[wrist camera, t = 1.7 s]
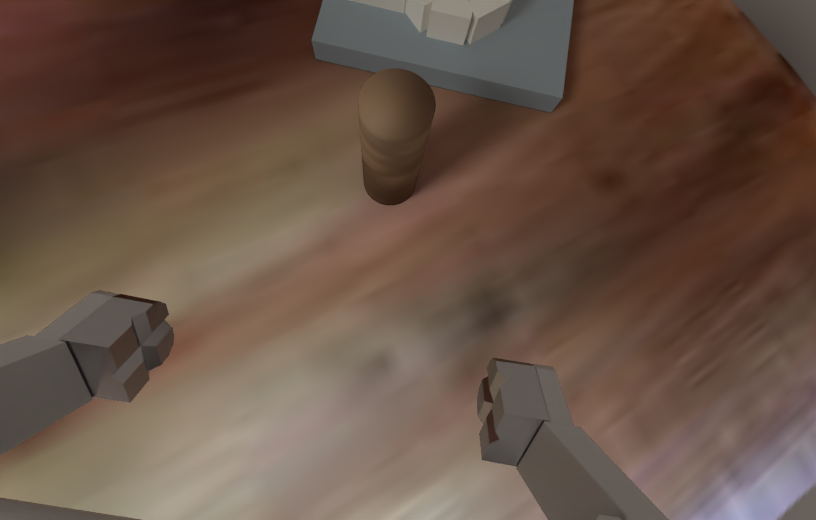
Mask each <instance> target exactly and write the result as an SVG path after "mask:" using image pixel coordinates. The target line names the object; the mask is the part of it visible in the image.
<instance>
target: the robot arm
mask: <svg viewBox="0 0 816 520" xmlns="http://www.w3.org/2000/svg"><path fill="white" fill-rule="evenodd" d="M168 315H169V313H168V310H167V306H166V304H165V303H162V302H159V301H154V300H149V299H144V298H138V297H133V296H128V295H123V294H116V293H111V292H106V291H100V290H99V291H96V292H92V293H90V294H89V295H88V296H86V297H85V298H84V299H82V300H81V301H80V302H78V303H77V304H76V305H75V306H73V307H72V308H71V309H69V310H68V311H67V312H65V313H64V314H63V315H62V316H60V317H59V318H58V319H56V320H55V321H54V322H52V323H51V324H50V325H49V326H47V327H46V328H45V329H43V330H42V331H41V332H39V333H38V334H37V335H36V336H24V337H21V338H19V339H16V340H13V341H10V342H7V343H4V344H2V345H0V455H2V454H3V453H5V452H6V451H8V450H10V449H11V448H13V447H15V446H16V445H18V444H20V443H21V442H23V441H25V440H26V439H28V438H30V437H31V436H33V435H35V434H36V433H38V432H40V431H41V430H43V429H45V428H46V427H48V426H50V425H51V424H53V423H55V422H56V421H58V420H60V419H61V418H63V417H65V416H66V415H68V414H70V413H71V412H73V411H75V410H76V409H78V408H80V407H81V406H83V405H85V404H86V403H88V402H90V401H91V400H92V398H99V399H107V400H114V401H122V402H129V403H130V402H131V401H132V400H133V399H134V398H135V396H136V395H137V394H138V393H139V391H140V390H141V389H142V388H143V387H144V385H145V384H146V383H147V382H148V381H149V371H150V370H152V369H154V368H156V367H158V366H160V365H162V363H163V362H164V361H165V359H166V358H167V357H168V356H169V353H170V351H171V348H172V346H173V342H174V333H173V328H172V327H171V326H170V325H169V324H168V323H167V322H166V321H165V318H166V317H167V316H168ZM487 373H488V376H487V377H486V378H484V379H482V381H481V384H480V387H479V391H478V397H477V414H478V418H479V419H480V421H481V422H482V423H483V426H482V428H481V431H480V433H479V436H480V446H481V456H482V460H485V461H490V462H495V463H501V464H506V465H511V466H516V467H517V468H516V469H517V470H518V472H519V473H520V475H521V477H522V478H523V480H524V481H525V483H526V485H527V486H528V488H529V490H530V491H531V493H532V494H533V496H534V498H535V499H536V501H537V502H538V504H539V506H540V507H541V509H542V511H543V512H544V514H545V515H546V517H547V519H548V520H668V518H667V517H666V516H665V515H664V514H663V513H662V512H661V511H660V510H659V509H658V508H657V507H656V506H655V505H654V504H653V503H652V502H651V501H650V500H649V499H648V498H647V496H646V495H645V494H644V493H643V492H642V491H641V490H640V489H639V488H638V487H637V486H636V485H635V484H634V483H633V482H632V481H631V480H630V479H629V478H628V477H627V476H626V474H625V473H624V472H623V471H622V470H621V469H620V468H619V467H618V466H617V465H616V464H615V463H614V462H613V461H612V460H611V459H610V458H609V457H608V456H607V455H606V454H605V452H604V451H603V450H602V449H601V448H600V447H599V446H598V445H597V444H596V443H595V442H594V441H593V440H592V439H591V438H590V437H589V436H588V435H587V434H586V433H585V432H584V430H583V429H582V428H581V427H577V426H574V424H573V421H572V418H571V415H570V412H569V409H568V406H567V403H566V400H565V397H564V394H563V391H562V388H561V386H560V383H559V380H558V377H557V374H556V371H555V370H554V368H553V367H549V366H543V365H536V364H530V363H524V362H517V361H511V360H505V359H498V358H492V359H491V360H490V361H489V364H488V366H487ZM0 520H140V519H134V518H128V517H121V516H115V515H108V514H102V513H96V512H89V511H83V510H76V509H70V508H63V507H57V506H51V505H44V504H38V503H31V502H25V501H19V500H12V499H6V498H0Z"/></svg>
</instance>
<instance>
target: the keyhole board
mask: <svg viewBox="0 0 816 520" xmlns="http://www.w3.org/2000/svg"><path fill="white" fill-rule="evenodd" d="M573 5H574V0H323V2H322V5H321V9H320V12H319V16H318V19H317V23H316V26H315V30H314V33H313V37H312V40H311V41H312V45H313V50H314V55H315V59H317V60H322V61H326V62H330V63H335V64H339V65H344V66H348V67H352V68H357V69H361V70H366V71H370V72H374V73H377V72H379V71H381V70H385V69H390V68H400V69H405V70H409V71H411V72H414V73H415V74H417V75H419V76H420V77H422V78H423V79H424V80H425V81H426V82H427V83H428V85H431V86H436V87H440V88H444V89H449V90H453V91H458V92H462V93H466V94H471V95H475V96H480V97H484V98H488V99H493V100H497V101H501V102H506V103H510V104H515V105H519V106H523V107H528V108H532V109H537V110H541V111H545V112H550V113H551V112H552V111H553V110H554V108H555V107H556V106H557V105H558V103H559V102H560V101H561V100H562V98H563V91H564V82H565V73H566V65H567V56H568V48H569V39H570V30H571V22H572V13H573Z"/></svg>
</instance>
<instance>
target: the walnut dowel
mask: <svg viewBox="0 0 816 520" xmlns="http://www.w3.org/2000/svg"><path fill="white" fill-rule="evenodd" d="M435 107H436V106H435V97H434V94H433V91H432V89H431V88H430V86H429V85H428V83H427V82H426V81H425V80H424V79H423V78H422V77H420V76H419V75H417V74H415V73H414V72H411V71H409V70H405V69H400V68H390V69H385V70H381V71H379V72H377V73H375V74H373V75H372V76H370V77H369V78H368V79H367V80H366V81H365V82H364V84H363V85H362V87H361V89H360V92H359V97H358V108H359V122H360V136H361V149H362V163H363V177H364V186H365V189H366V191H367V193H368V194H369V196H370V197H371V198H372V199H373V200H375V201H376V202H378V203H381V204H384V205H397V204H400V203H402V202H404V201H405V200H407V199H408V198H409V197H410V196H411V194H412V193H413V191H414V188H415V184H416V180H417V177H418V173H419V169H420V165H421V162H422V158H423V154H424V150H425V146H426V143H427V139H428V135H429V131H430V128H431V124H432V120H433V116H434V113H435Z"/></svg>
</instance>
